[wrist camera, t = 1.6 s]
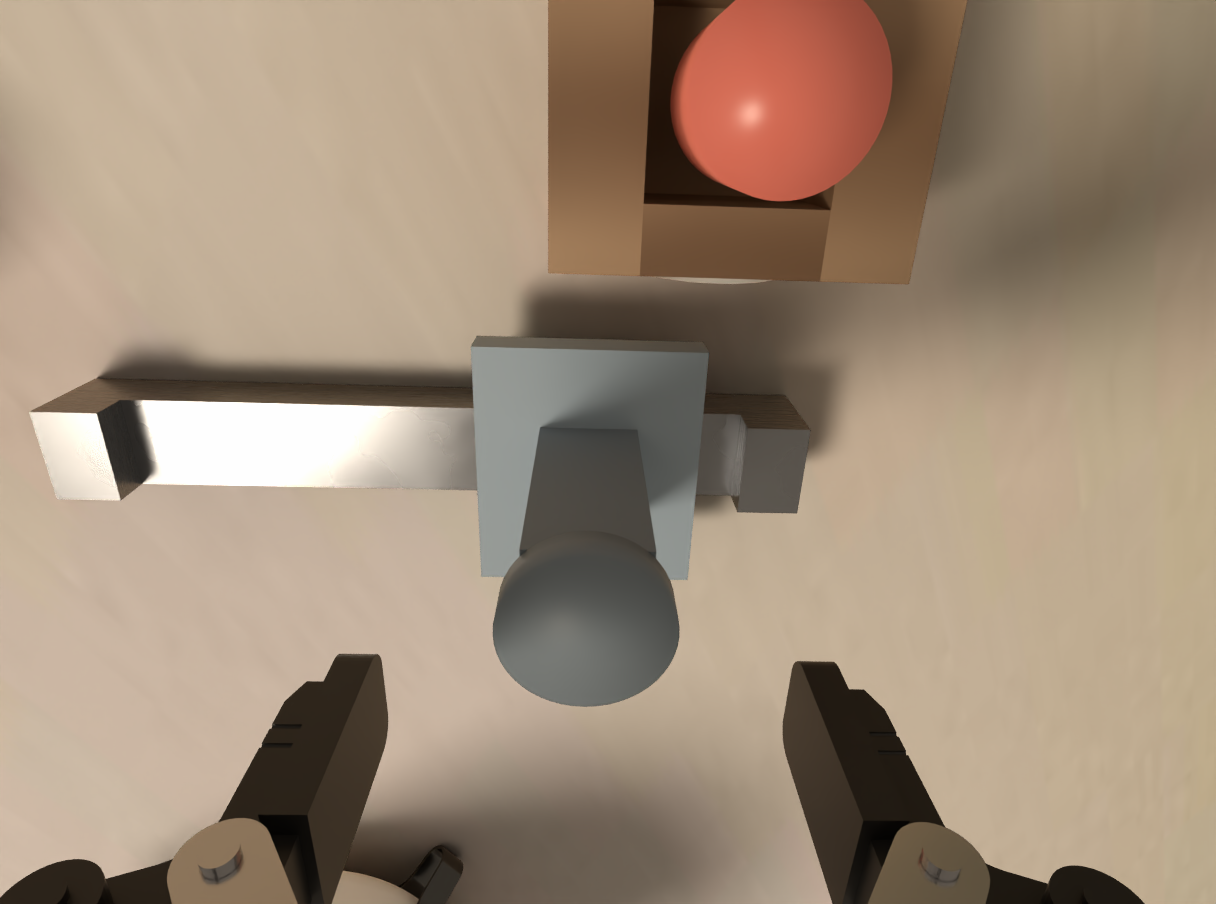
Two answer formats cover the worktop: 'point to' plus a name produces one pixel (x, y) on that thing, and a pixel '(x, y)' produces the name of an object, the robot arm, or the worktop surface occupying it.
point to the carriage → (586, 505)
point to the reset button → (783, 95)
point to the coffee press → (405, 883)
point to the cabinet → (704, 209)
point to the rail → (355, 439)
